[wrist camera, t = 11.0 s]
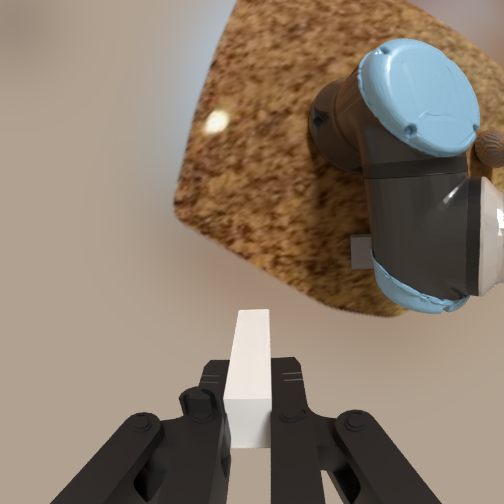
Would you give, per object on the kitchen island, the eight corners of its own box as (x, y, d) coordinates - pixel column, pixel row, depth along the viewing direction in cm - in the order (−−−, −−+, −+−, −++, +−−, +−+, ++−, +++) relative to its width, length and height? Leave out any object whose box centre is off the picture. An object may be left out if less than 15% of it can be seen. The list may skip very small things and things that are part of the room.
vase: (471, 125, 38) (500, 121, 29) (493, 139, 38) (523, 138, 29) (467, 159, 39) (498, 159, 31) (490, 172, 39) (520, 174, 31)
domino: (351, 269, 43) (413, 267, 40) (350, 237, 42) (413, 235, 39) (351, 265, 45) (410, 263, 42) (350, 234, 44) (411, 232, 41)
